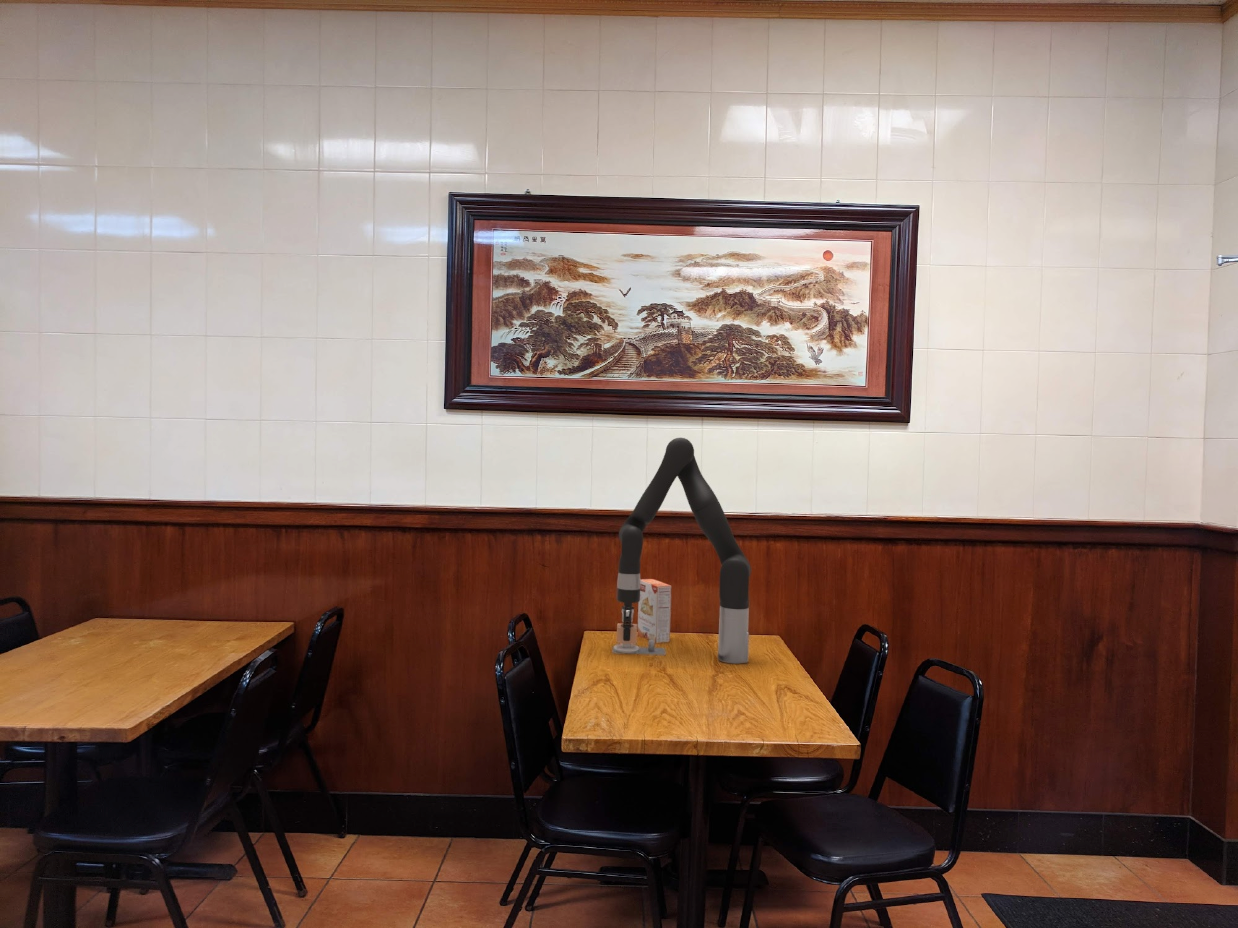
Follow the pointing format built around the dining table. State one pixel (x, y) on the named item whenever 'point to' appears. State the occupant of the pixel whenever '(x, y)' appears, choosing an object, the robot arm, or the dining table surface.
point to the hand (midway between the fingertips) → (626, 637)
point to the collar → (632, 634)
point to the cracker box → (654, 610)
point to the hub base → (639, 649)
